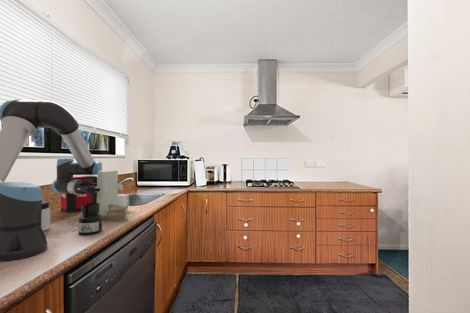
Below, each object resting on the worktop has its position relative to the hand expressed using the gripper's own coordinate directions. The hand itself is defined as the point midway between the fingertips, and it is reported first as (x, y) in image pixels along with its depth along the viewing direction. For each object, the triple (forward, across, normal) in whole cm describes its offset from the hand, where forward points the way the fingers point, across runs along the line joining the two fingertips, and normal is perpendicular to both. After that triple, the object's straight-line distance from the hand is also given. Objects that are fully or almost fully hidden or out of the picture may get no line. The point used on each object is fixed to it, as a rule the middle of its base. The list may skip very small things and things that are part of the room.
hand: (114, 188), depth 131 cm
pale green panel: (-4, 0, -13) cm, 14 cm away
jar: (-19, +25, -16) cm, 35 cm away
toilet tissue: (-11, -14, -16) cm, 24 cm away
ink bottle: (+6, +22, -16) cm, 28 cm away
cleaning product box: (-37, -15, -16) cm, 43 cm away
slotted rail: (-4, 0, -16) cm, 16 cm away
